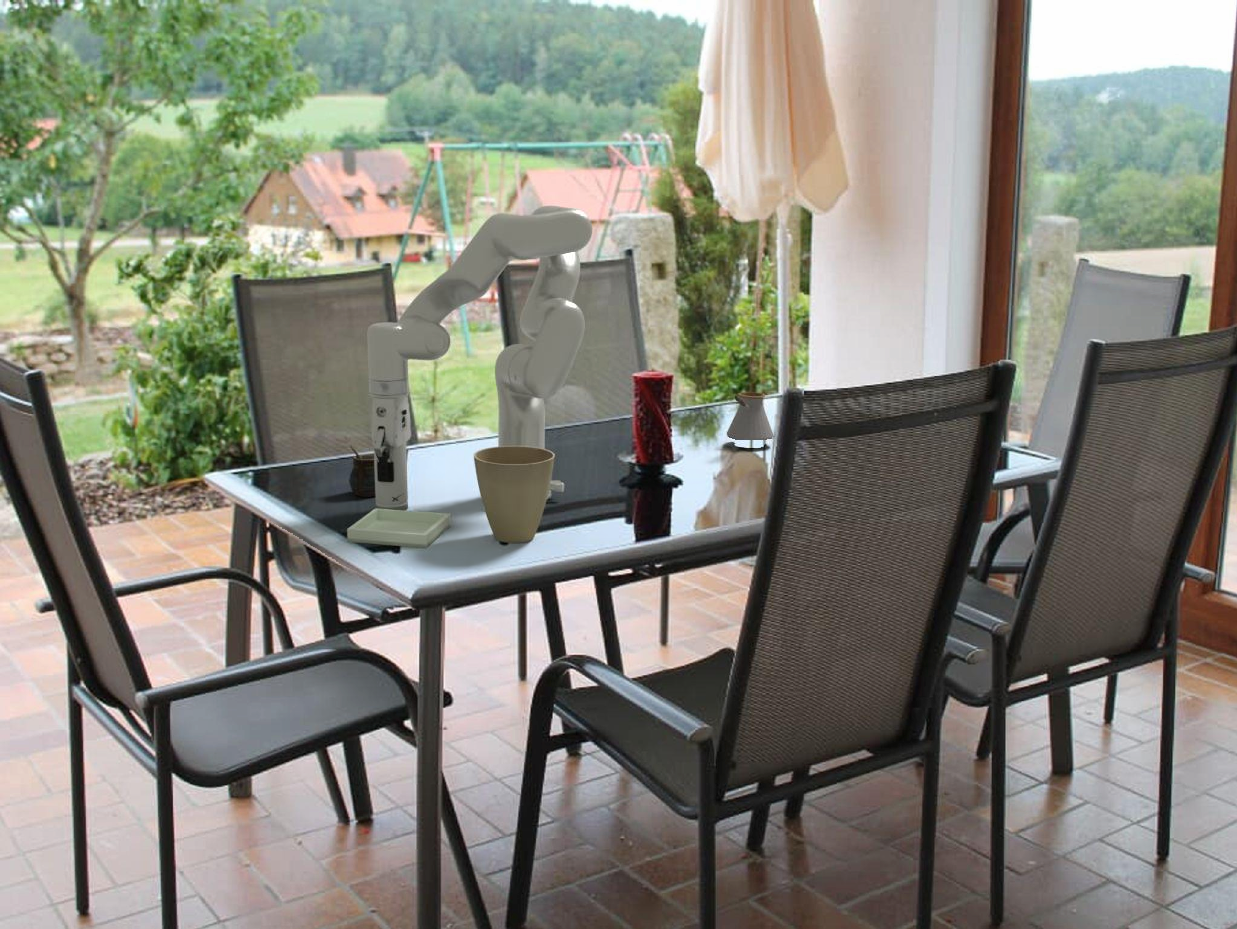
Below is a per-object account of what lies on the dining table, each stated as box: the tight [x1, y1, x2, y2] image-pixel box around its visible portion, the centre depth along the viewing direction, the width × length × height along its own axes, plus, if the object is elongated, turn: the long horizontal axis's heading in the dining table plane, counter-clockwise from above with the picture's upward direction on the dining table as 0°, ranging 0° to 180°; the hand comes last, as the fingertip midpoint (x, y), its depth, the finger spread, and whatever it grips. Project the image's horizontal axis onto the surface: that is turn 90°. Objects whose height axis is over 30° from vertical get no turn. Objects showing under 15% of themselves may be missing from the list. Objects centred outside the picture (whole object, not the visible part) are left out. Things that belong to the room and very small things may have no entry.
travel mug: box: [373, 410, 409, 511], centre depth 273 cm, size 6×7×20 cm
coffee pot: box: [726, 391, 774, 440], centre depth 337 cm, size 21×12×15 cm, turn 159°
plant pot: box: [473, 446, 556, 544], centre depth 258 cm, size 15×15×16 cm
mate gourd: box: [348, 445, 376, 498], centre depth 287 cm, size 7×8×10 cm
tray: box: [346, 507, 452, 549], centre depth 260 cm, size 15×15×2 cm
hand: (391, 476), depth 274 cm, fingers closed on travel mug, 6 cm apart
